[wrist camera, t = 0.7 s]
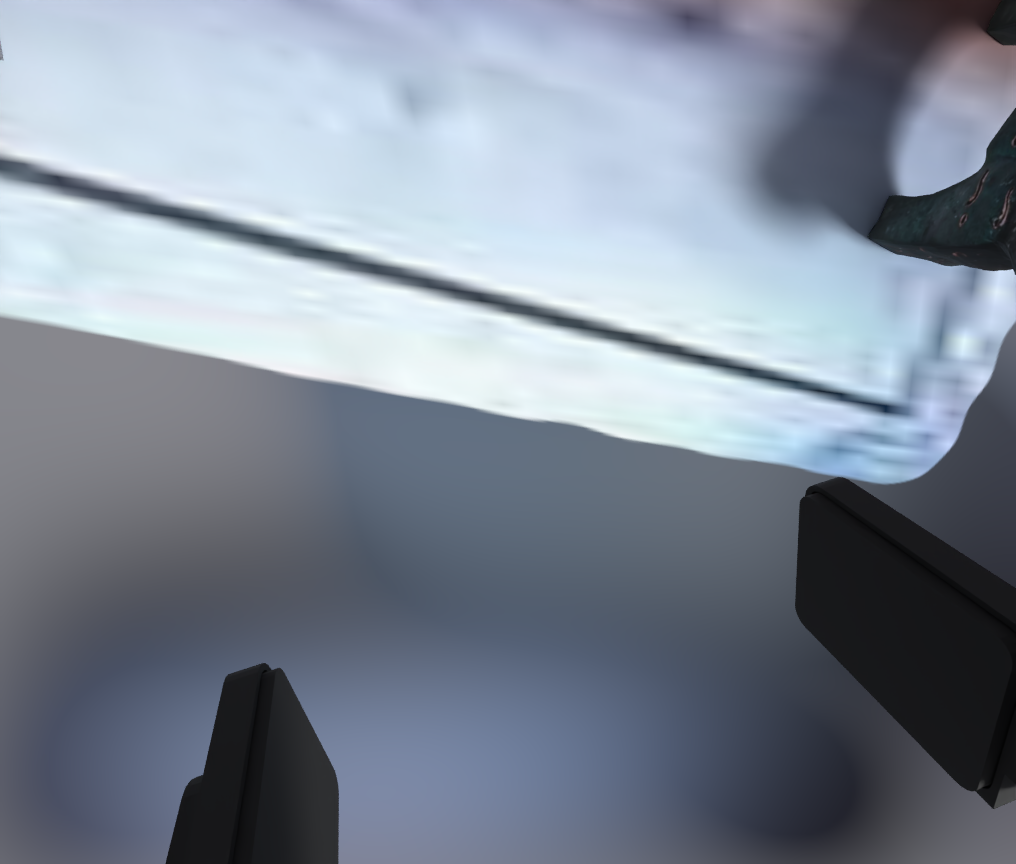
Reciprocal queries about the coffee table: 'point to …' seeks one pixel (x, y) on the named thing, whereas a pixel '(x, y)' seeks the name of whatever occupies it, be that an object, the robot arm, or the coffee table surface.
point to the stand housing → (0, 56)
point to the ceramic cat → (964, 200)
